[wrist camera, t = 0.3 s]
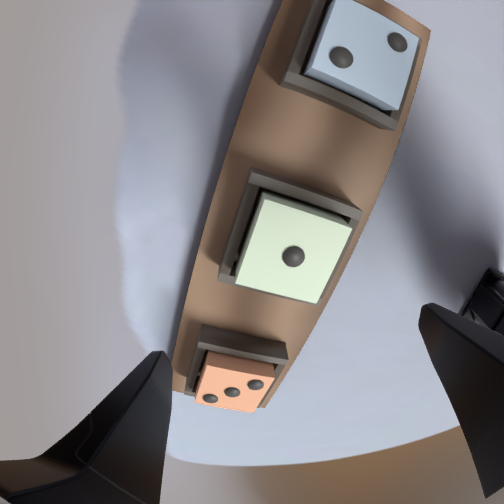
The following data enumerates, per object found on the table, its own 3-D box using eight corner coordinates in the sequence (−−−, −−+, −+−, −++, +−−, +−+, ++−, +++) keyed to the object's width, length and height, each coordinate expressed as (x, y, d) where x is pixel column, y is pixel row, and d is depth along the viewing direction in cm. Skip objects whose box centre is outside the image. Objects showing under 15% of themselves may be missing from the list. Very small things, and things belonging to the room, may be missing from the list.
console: (423, 33, 13) (446, 25, 10) (264, 400, 27) (265, 423, 24) (296, -30, 11) (304, -51, 9) (167, 381, 26) (162, 404, 23)
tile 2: (401, 44, 12) (419, 37, 10) (381, 110, 14) (399, 109, 12) (327, 6, 11) (339, -7, 9) (302, 74, 13) (311, 67, 11)
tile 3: (272, 358, 21) (275, 379, 19) (252, 394, 23) (253, 413, 21) (209, 345, 21) (207, 366, 19) (196, 384, 23) (194, 403, 21)
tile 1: (340, 216, 17) (353, 229, 15) (309, 286, 19) (316, 304, 17) (262, 189, 16) (264, 199, 14) (235, 266, 18) (235, 284, 16)
